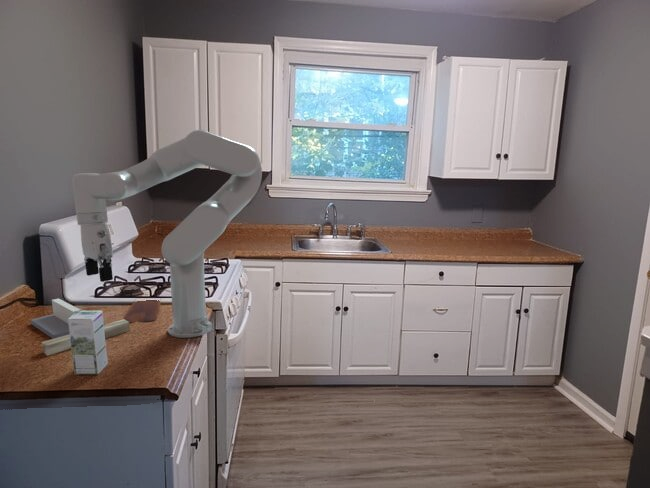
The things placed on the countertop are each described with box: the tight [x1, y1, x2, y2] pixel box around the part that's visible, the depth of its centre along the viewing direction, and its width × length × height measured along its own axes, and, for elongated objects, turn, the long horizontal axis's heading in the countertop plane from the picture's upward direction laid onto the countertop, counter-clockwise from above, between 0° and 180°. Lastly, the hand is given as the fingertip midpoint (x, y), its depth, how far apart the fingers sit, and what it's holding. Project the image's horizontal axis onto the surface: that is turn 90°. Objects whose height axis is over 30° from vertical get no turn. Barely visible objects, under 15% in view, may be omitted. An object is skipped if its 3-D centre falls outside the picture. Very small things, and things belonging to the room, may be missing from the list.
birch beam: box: [41, 318, 131, 356], centre depth 124 cm, size 3×22×3 cm, turn 140°
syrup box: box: [68, 310, 108, 376], centre depth 106 cm, size 6×6×14 cm
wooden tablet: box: [123, 300, 162, 324], centre depth 151 cm, size 27×10×2 cm, turn 15°
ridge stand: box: [30, 297, 105, 339], centre depth 135 cm, size 18×14×6 cm
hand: (99, 277), depth 126 cm, fingers open, 9 cm apart
